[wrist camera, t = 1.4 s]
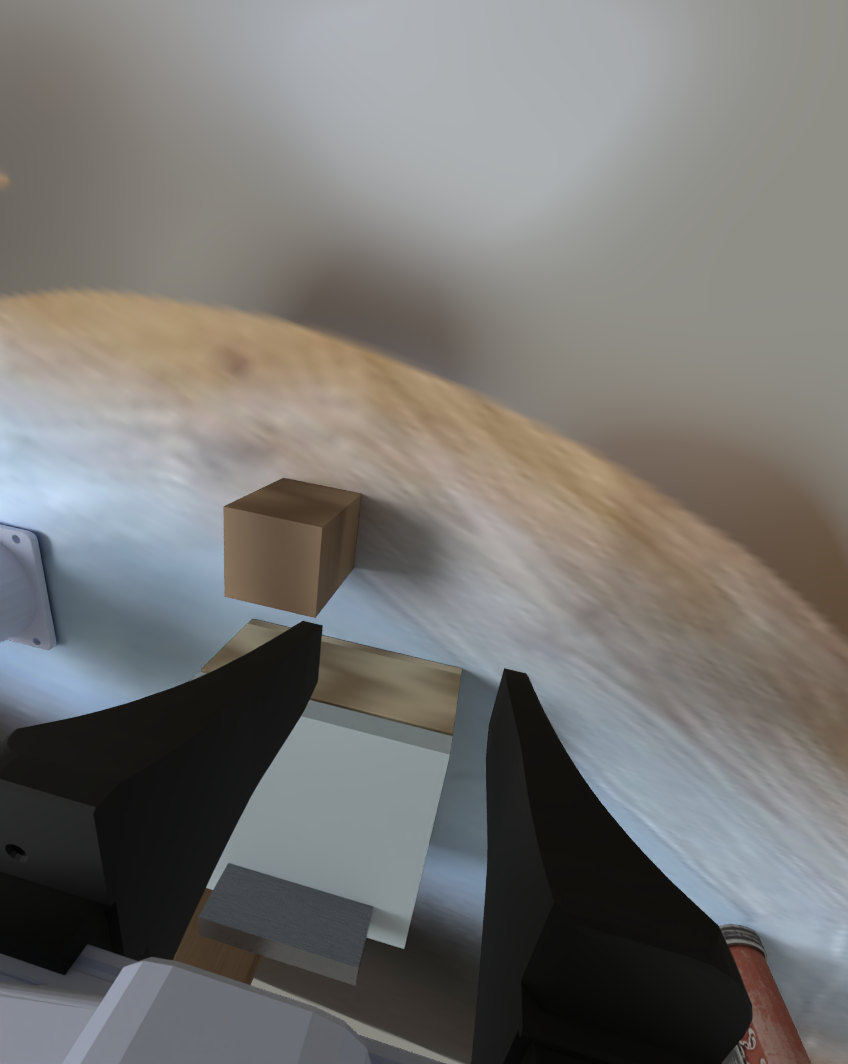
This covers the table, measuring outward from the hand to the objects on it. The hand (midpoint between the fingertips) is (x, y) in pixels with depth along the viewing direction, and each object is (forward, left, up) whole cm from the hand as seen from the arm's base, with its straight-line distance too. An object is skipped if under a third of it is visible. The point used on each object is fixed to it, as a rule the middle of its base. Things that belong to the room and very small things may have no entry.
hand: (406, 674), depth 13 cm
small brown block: (-7, 0, -10) cm, 12 cm away
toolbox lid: (-4, -13, -5) cm, 15 cm away
